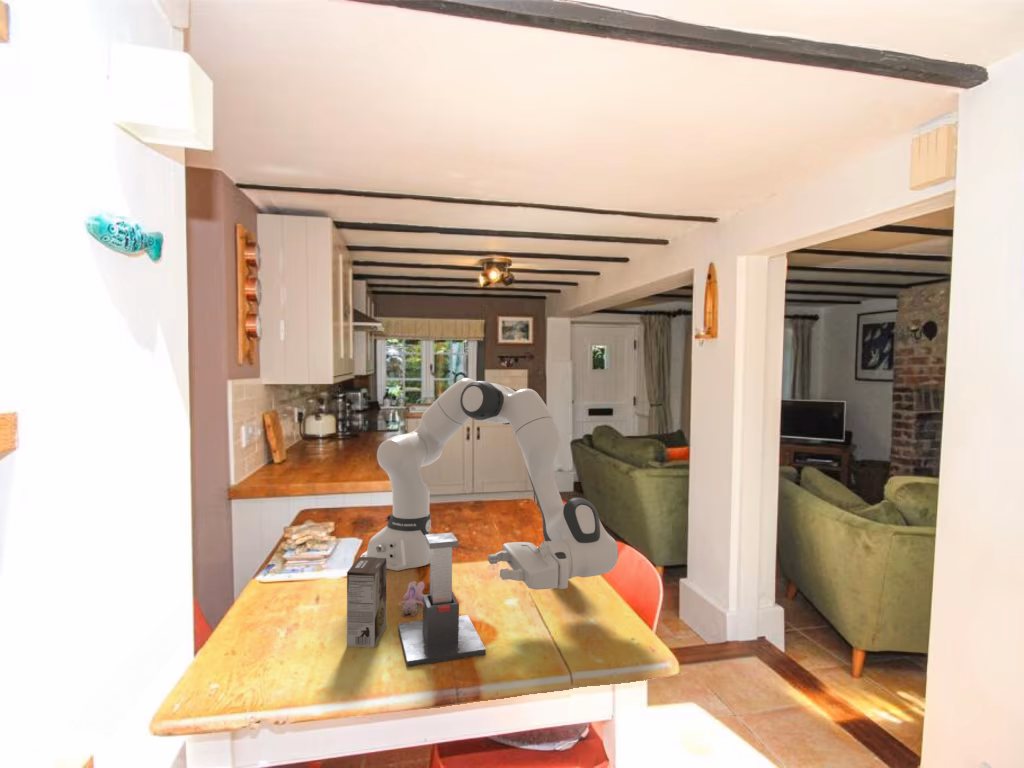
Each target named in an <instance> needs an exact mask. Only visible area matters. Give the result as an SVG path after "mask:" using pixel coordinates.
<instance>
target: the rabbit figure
mask: <svg viewBox="0 0 1024 768" xmlns="http://www.w3.org/2000/svg"><path fill="white" fill-rule="evenodd" d="M424 590H425V582H424V581H420V582H417V581H410V582H409V583H408V585H407V591H406V592H405V594H403V600H404V601H403V600H402V601H400V602H398V605H402V609H401V616H400V617H401V618H405V616H408V615H409V614H410V615H411V616H410V618H412V617H413V619H414V618H416V617H415V616H416V614H417V612H418V605H419V604H420V605H421V606H423V595H424V593H423V591H424ZM417 604H418V605H417Z"/></svg>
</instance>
